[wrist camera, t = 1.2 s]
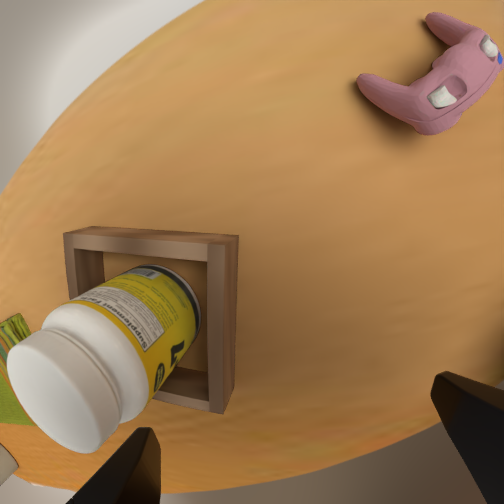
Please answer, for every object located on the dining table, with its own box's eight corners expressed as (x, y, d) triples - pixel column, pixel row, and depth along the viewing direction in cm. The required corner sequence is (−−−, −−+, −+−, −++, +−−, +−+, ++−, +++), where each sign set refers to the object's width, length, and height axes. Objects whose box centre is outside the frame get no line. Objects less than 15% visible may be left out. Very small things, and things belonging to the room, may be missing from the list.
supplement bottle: (168, 366, 24) (83, 475, 11) (106, 305, 24) (-8, 379, 11) (223, 311, 22) (138, 436, 9) (151, 241, 22) (10, 299, 9)
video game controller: (384, 132, 19) (452, 159, 13) (344, 81, 17) (412, 87, 11) (456, 57, 16) (525, 66, 10) (426, 10, 14) (496, 3, 8)
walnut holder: (238, 235, 20) (224, 245, 17) (234, 387, 23) (223, 414, 20) (92, 226, 22) (63, 233, 19) (106, 358, 25) (85, 377, 22)
